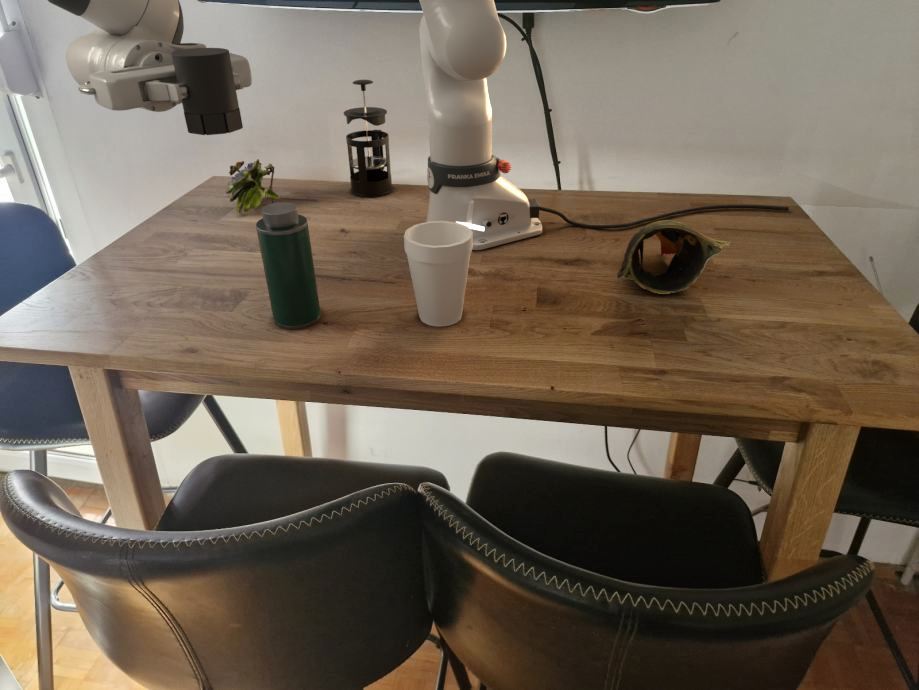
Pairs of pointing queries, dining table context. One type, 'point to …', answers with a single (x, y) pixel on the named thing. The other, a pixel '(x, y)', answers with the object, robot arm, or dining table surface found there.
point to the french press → (369, 168)
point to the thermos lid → (208, 90)
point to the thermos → (288, 266)
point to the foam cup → (439, 269)
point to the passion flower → (250, 185)
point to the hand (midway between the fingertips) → (211, 87)
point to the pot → (674, 240)
